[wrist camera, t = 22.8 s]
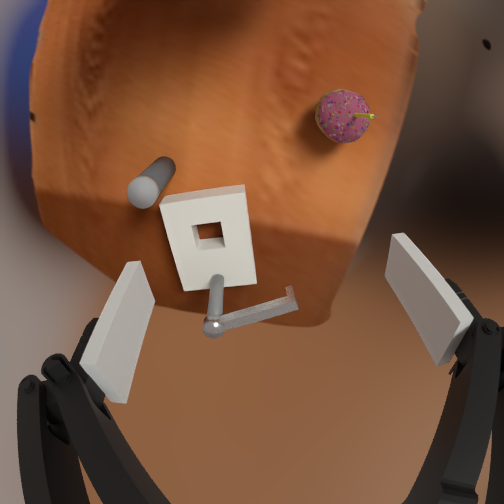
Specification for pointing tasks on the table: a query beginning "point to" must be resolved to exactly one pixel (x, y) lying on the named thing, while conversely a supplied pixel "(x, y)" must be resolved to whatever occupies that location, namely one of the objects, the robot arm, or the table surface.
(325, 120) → the cupcake
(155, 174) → the plug
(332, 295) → the table surface
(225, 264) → the socket block
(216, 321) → the clip
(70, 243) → the table surface
